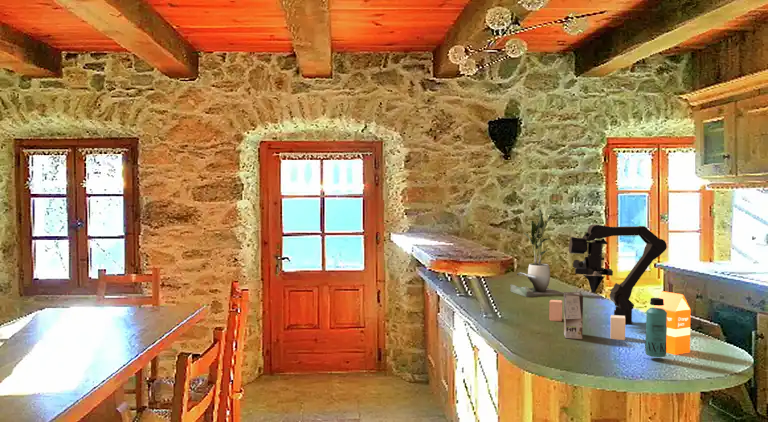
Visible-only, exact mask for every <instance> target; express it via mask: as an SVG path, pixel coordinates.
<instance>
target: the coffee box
mask: <svg viewBox="0 0 768 422" xmlns="http://www.w3.org/2000/svg"><path fill="white" fill-rule="evenodd" d="M563 293H564V296H563V334H564V335H563V336H564V337H565V339H576V340H577V339H578V340H582V339H583V332H584V331H583V329H584V328H583V324H584V322H583V321H584V320H583V319H584V316H583V315H584V312H583V311H584V295H583V293H582V292H581V291H569V292H567V291H564V292H563Z"/></svg>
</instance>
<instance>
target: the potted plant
mask: <svg viewBox="0 0 768 422" xmlns="http://www.w3.org/2000/svg"><path fill="white" fill-rule="evenodd" d="M537 215H538V222H537V223H536V222H535V221H533V220H531V222H530V234H531V237H530V236H529V233H526V232H524V231H523V234H524V235H525V236H526V237H527V238H528V239H529V241H530V243H531V245H532V249H533V258H534V263H529V264H528V268H527V273H526V272H525V273H524V272H521V271H520V272H517V274H516V275H517V276H525V277H527V279H528V280H529V281H530V283H532V286H533V287H530V288H529V287H528V286H526V285H525V286H518V285H515V284H510V289H509V290H510V292H511V293H514V294H517V295H520V296H521V297H525V298H535V297H536V298H537V297H539V298H540V297H558V296H562V297H564V292H562V291H559V290H555V289H552V288H548V287H549V284H550V279H551V269H550V264H548V263H542V259H543V255H544V254H545V253H546V252H547V251H548V248H546V249H545V250H543V251H542V247H543V243H544V242H545V241H549V240H551V238H550V237H545V238H544V234H545V230H546V226H547V224H548V223H549V222H550V221H551V220H552V218H553V215H549V216H548V218H547V219H546V222H545V221H544V217H543V214H542V210H541V209H540V208H538V209H537Z"/></svg>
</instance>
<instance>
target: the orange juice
mask: <svg viewBox="0 0 768 422" xmlns="http://www.w3.org/2000/svg"><path fill="white" fill-rule="evenodd" d="M659 294H660V295H659V297H658V298H662V299H663V300H664V305H663V306H656V305H654V307H653V308H662V309H664V310H665V311H666V312H667V338H666V348H667V350H666V351H667V353H666V354H671V355H674V356H675V355H682V354H685V353H687V354H688V353H690V352H691V311H692V310H691V307H690V305H689V303H688V302H687V301H688V300H687V299H686V297H685V295H684V294H682V293H676V292H670V291H665V290H661V292H660V293H659Z"/></svg>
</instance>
